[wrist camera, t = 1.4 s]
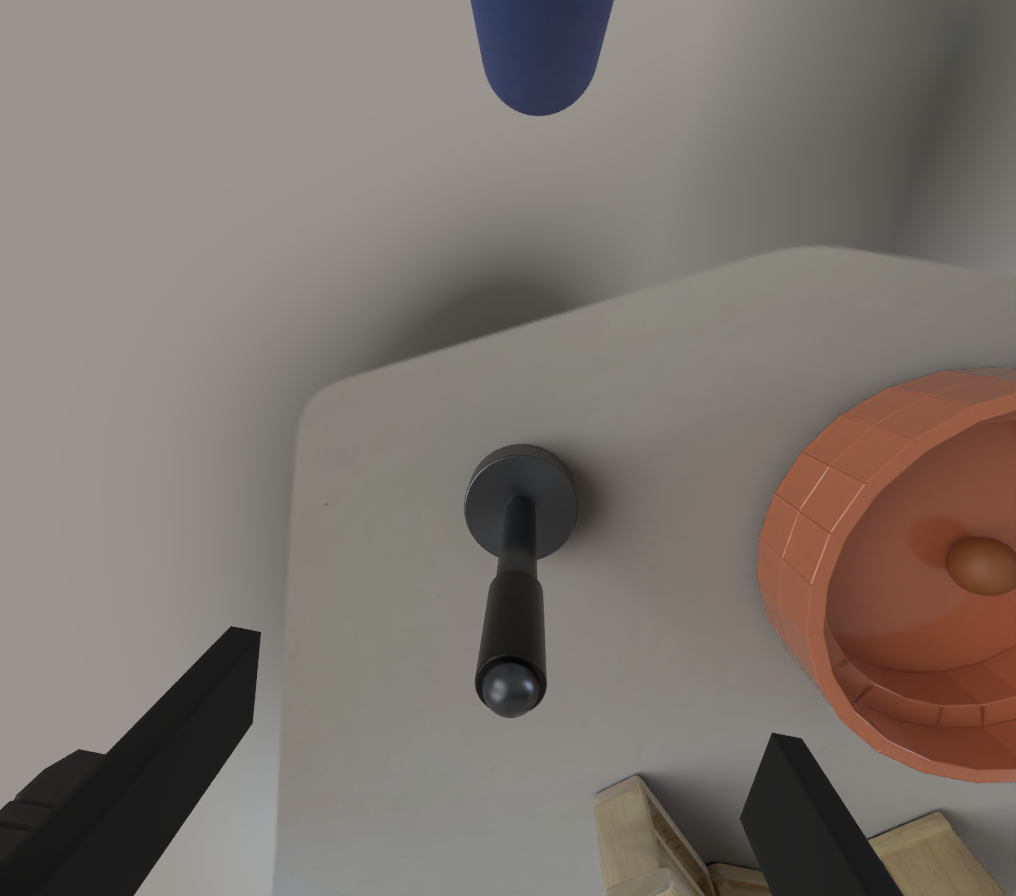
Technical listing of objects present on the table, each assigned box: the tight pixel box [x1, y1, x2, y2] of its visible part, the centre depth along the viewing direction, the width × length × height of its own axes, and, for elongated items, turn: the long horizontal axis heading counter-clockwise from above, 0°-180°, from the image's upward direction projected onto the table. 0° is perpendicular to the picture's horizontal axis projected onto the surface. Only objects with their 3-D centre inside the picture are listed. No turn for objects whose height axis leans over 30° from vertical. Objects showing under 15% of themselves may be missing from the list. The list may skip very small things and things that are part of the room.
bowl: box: [757, 368, 1016, 783], centre depth 27 cm, size 20×20×6 cm
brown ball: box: [945, 536, 1016, 596], centre depth 27 cm, size 3×3×3 cm
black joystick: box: [464, 445, 578, 718], centre depth 22 cm, size 6×6×17 cm
